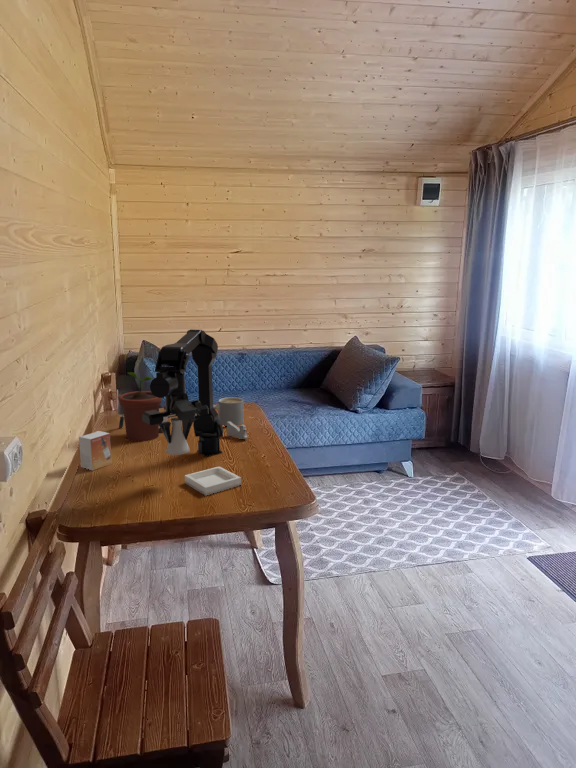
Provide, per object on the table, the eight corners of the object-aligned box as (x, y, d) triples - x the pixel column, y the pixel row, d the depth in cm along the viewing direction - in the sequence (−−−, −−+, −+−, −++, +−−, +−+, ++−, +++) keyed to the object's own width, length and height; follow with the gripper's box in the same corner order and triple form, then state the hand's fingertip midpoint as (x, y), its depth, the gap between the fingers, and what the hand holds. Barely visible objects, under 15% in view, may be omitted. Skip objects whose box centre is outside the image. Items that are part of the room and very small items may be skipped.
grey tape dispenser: (229, 435, 213) (248, 440, 207) (227, 436, 212) (246, 441, 206) (229, 421, 212) (248, 425, 205) (226, 421, 211) (245, 426, 204)
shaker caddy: (219, 473, 174) (219, 466, 173) (241, 485, 165) (241, 477, 164) (185, 483, 166) (184, 475, 166) (205, 496, 157) (205, 487, 157)
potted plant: (114, 445, 202) (110, 377, 196) (118, 428, 222) (114, 366, 217) (165, 441, 205) (161, 374, 200) (164, 425, 226) (161, 364, 221)
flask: (168, 457, 160) (166, 423, 158) (162, 449, 167) (161, 417, 165) (193, 453, 163) (191, 420, 161) (186, 446, 170) (185, 414, 168)
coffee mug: (244, 420, 233) (243, 397, 231) (243, 427, 223) (242, 403, 221) (212, 420, 232) (211, 397, 230) (209, 427, 223) (208, 403, 221)
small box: (92, 471, 176) (89, 439, 174) (80, 468, 179) (78, 436, 177) (112, 463, 183) (110, 432, 180) (100, 460, 186) (98, 430, 183)
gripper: (156, 399, 149) (159, 455, 153) (217, 390, 160) (219, 442, 164) (139, 392, 158) (143, 445, 161) (198, 383, 169) (200, 432, 172)
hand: (177, 441), depth 164 cm, fingers closed on flask, 5 cm apart
